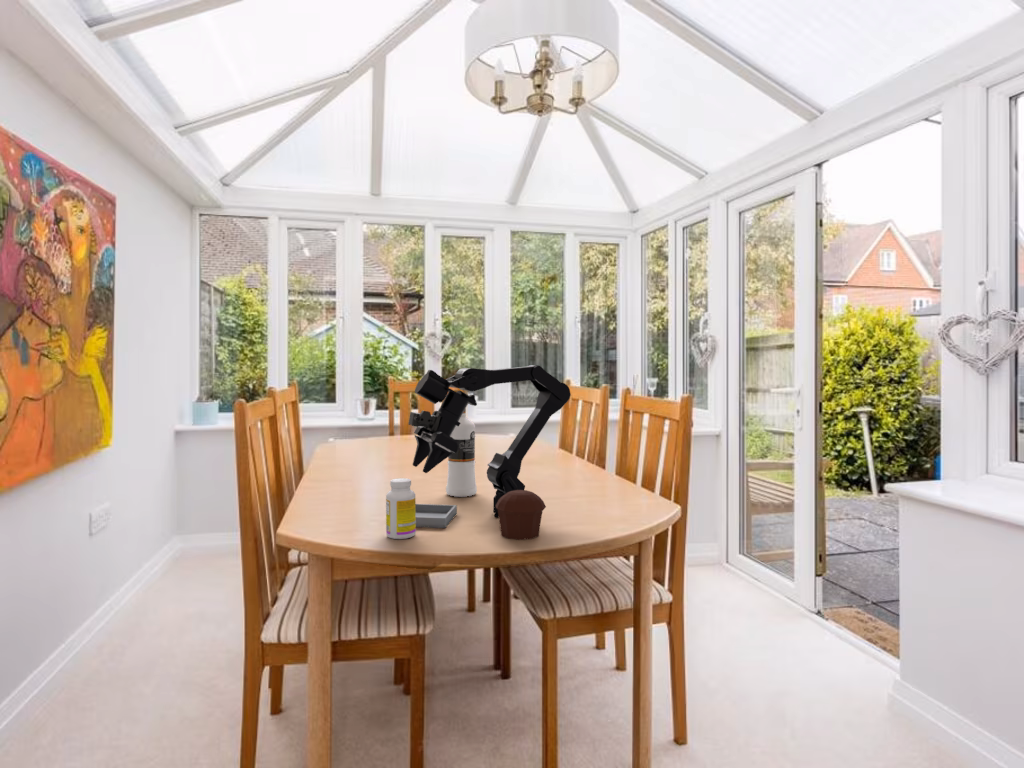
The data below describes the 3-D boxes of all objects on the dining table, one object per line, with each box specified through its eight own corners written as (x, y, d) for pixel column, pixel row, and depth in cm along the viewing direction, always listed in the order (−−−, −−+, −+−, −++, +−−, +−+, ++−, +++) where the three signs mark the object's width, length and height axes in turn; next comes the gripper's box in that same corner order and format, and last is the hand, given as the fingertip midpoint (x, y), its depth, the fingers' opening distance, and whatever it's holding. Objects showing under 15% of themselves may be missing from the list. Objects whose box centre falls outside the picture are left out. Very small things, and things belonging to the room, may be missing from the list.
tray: (456, 514, 156) (456, 505, 156) (445, 528, 143) (445, 518, 143) (407, 512, 158) (407, 503, 157) (391, 526, 144) (391, 516, 144)
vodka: (458, 489, 186) (458, 393, 185) (482, 493, 181) (483, 394, 180) (439, 495, 178) (439, 395, 177) (464, 499, 173) (464, 396, 172)
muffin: (492, 540, 133) (493, 496, 133) (496, 527, 144) (496, 486, 144) (546, 541, 133) (546, 497, 132) (545, 528, 144) (546, 486, 143)
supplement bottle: (421, 533, 138) (421, 478, 138) (404, 541, 132) (404, 484, 132) (397, 530, 141) (397, 476, 141) (380, 537, 135) (380, 481, 135)
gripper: (412, 395, 154) (382, 449, 151) (433, 399, 137) (400, 460, 134) (448, 415, 158) (419, 468, 155) (473, 422, 141) (441, 481, 138)
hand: (419, 469), depth 145 cm, fingers open, 9 cm apart
